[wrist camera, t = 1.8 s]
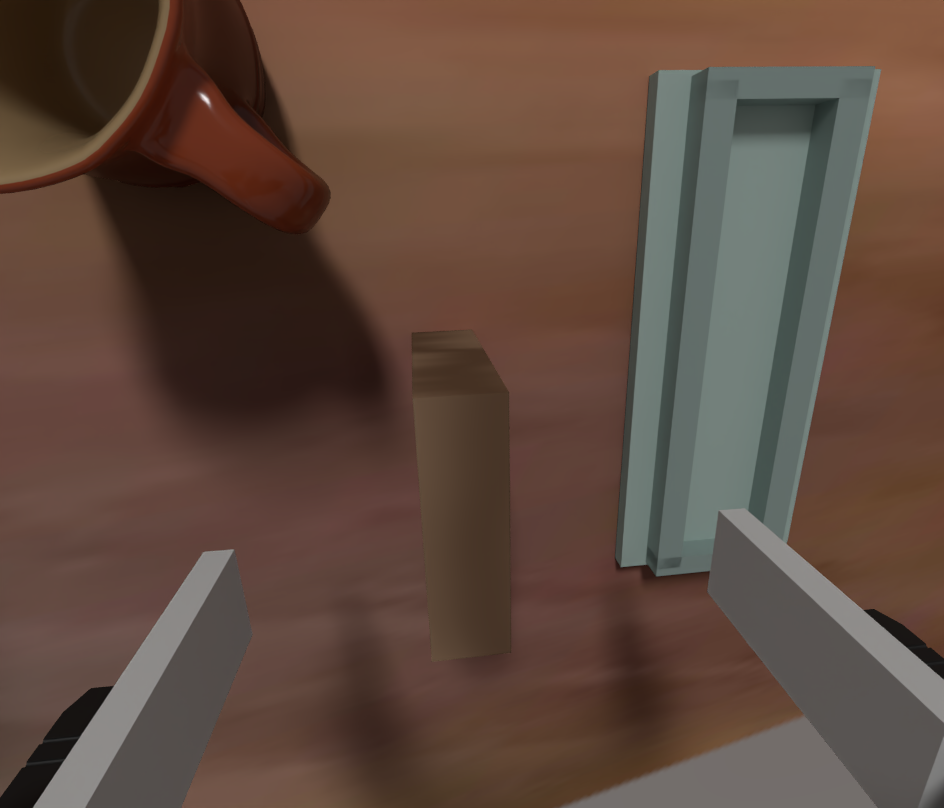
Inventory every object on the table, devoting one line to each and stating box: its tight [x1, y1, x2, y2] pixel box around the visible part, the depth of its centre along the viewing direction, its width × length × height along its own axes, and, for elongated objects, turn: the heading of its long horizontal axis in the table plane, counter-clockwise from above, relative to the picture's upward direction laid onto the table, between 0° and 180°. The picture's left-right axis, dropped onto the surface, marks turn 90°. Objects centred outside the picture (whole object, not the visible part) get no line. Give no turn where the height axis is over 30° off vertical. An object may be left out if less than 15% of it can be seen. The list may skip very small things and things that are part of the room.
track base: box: [615, 66, 881, 576], centre depth 23 cm, size 9×22×2 cm, turn 2°
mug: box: [0, 0, 331, 234], centre depth 14 cm, size 12×9×10 cm
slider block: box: [412, 330, 511, 662], centre depth 20 cm, size 3×9×9 cm, turn 2°
